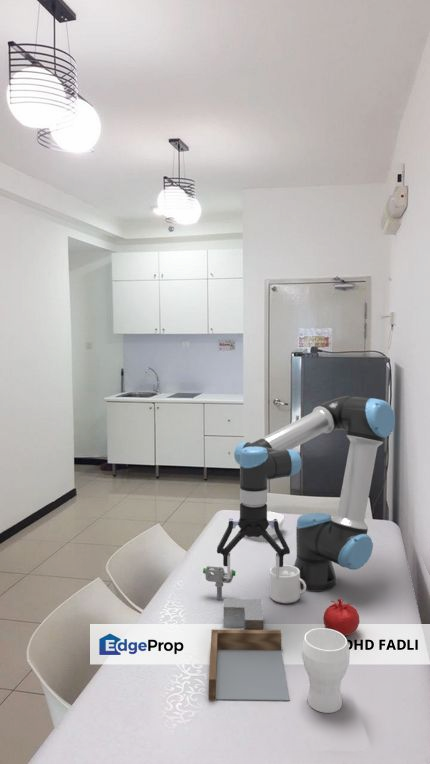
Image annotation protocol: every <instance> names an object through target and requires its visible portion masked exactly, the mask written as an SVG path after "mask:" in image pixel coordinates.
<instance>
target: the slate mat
mask: <svg viewBox="0 0 430 764" xmlns="http://www.w3.org/2000/svg"><path fill="white" fill-rule="evenodd" d="M282 651H283V650H282V649H281V650H217V678H216V700H215V701H237V702H238V701H242V702H243V701H246V702H247V701H250V702H251V701H252V702H263V701H264V702H291V701H290V694H289V687H288V682H287V676H286V669H285V662H284V658H283V652H282Z"/></svg>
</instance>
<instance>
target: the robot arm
mask: <svg viewBox="0 0 430 764" xmlns="http://www.w3.org/2000/svg"><path fill="white" fill-rule="evenodd" d="M395 416H396V415H395V412H394V409H393V407H392V406H391V405H390V403H389V402H387V401H386V400H383V399H379V398H374V397H373V398H372V397H361V396H353V395H344V396H340V397H337V398H334V399H333V398H332V399H331V400H328V401H326V402H324V403H321V404H320V405H318V406H316V407H314V408H313V409H312V412H310V413H309V414H307V415H304V416H302V417H301V418H299V419H296V420H295V421H293V422H291V423H289V424H286V425H284V426H283V427H281V428H280V429H279V428H278V429H277V430H276V431H273V432H271V433H269V434H267V435H265V436H263V437H262V438H260V439H258V440H255V441H254V442H250V441H243V442H240V443H239V444H237V446H236V447H235V449H234V452H233V453H234V454H233V456H234V460H235V462H236V463H237V464H238V465H239V487H240V488H239V502H240V504H239V519H238V520H236V519H233V518H228V524H227V528H226V530H225V532H224V533H223V535H222V537H221V539H220V541H219V543H218V545H217V546H216V553H217V554H221V555H222V557H223V560H222V561H223V562H222V564H223V567H226V568H227V572H226V573H227V577H226V578H227V579H230V571H231V551H232V550H233V549H234V548H235V547H236V546H237V545H238V544H239V543H240V541H241V540H242V539H244V538H245V535H246V536H248V537H253V536H254V537H259V536H261V535H262V536H263V537H264V538H265V539H266V540H267V541H268V542H267V543H268V544H269V545H270V546H271V548H272V549H273V550H274V551H275V566H276V580H279V567H283V565H284V558H285V557H284V556H285V555H290V554H291V551H290V547H289V546H288V544H287V541H286V539H285V537H284V535H283V533H282V531H280V529H279V525H278V521H277V519H274V520H273V521H268V520H267V511H268V504H267V502H268V481H271V480H274V479H282V478H287V477H288V478H290V477H291V476H295V475H297V474H298V473H299V472H300V471H301V469H302V457H301V455H300V454H299V452H298V451H296V450H295V449H296V448H297V447H299V446H301V445H302V444H304V443H306V442H308V441H310V440H312V439H314V438H317V437H318V436H319V435H322V434H329V433H331V432H333V431H338V430H340V431H347V432H346V438H347V439H348V440H349V447H348V453H347V459H346V463H345V464H346V466H345V469H344V475H343V480H342V487H341V491H340V497H339V501H338V508H337V512H336V515H335V516H333V517H332V516H331V514H329V513H325V512H312V513H305V514H302V515H299V517H298V518H297V521H296V531H295V533H296V558H295V561H294V565H293V566H295V567H297V568H298V569H299V570H300V579H302V580H303V581H304V582H305V584H306V591H312V592H313V591H315V592H322V591H327V590H328V591H329V590H331V589H333V588H334V587H335V586H336V585H337V574H336V571H335V568H334V565H333V563H334V564H336V565H339V566H340V567H342V568H347V569H348V570H358V569H360V568H362V567H363V566H364V565H365V564H367V562H368V561H369V560H370V558H371V555H372V553H373V547H374V546H373V545H374V543H373V541H372V537H370V536H369V534H368V531H369V526H368V525H367V524H366V522H365V518H366V512H367V507H368V501H369V496H370V490H371V486H372V479H373V474H374V469H375V463H376V456H377V453H378V451H377V450H378V447H379V446H381V445H382V444H384V441H385V438H386V437H389V436H390V435H391V434H392V432H394V429H395V425H396V417H395ZM237 526H238V528H239V530H238V532H237V534H236V535H234V537H233V538H232V539H231V540H230V541H229V543H228V542H227V541H228V540H229V538H230V536H231V534H232V532H233V529H236V527H237ZM268 526H271V528H272V529H275V532H276V534H277V536H278V537H277V539H278V540H279V542H280V544H281V546H282V548H281V547H280V545H279V544H278V543H277V542H276V541H275V539H274V540H273V538H272V537H271V536H270V535H269V534H268V532H267V531H266V529H267V527H268ZM226 543H228V544H227V545H226ZM300 589H302V590H303V589H304V586H303V584H302V582H300Z"/></svg>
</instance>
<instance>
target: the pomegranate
mask: <svg viewBox="0 0 430 764" xmlns="http://www.w3.org/2000/svg"><path fill="white" fill-rule="evenodd" d="M336 600H337V602H338V603H337V602H336V601H334V600H331V601H330V602H331V603H333V604H331V605H328V607H326V609H325V611H324V612H323V617H322V619H323V624H324V626H325V628H327V629H332V630H335V631H338V632H340V633H341V634H343V635H344V636H349V635H351V634H354V633H355V632H357V630H358V628H359V626H360V615H359V613H358V610H357V608H355V607H354V606H353V604H351V603H344V599H341V598H337V599H336Z"/></svg>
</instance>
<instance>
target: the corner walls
mask: <svg viewBox="0 0 430 764" xmlns="http://www.w3.org/2000/svg"><path fill="white" fill-rule="evenodd" d="M210 633H211V635H210V649H209V650H210V651H209V666H208V667H209V669H208V700H209V701H217V700H216V678H217V650H281V651H282V630H281V629H279V630H278V629H275V630H274V629H263V630H244V629H211V632H210Z"/></svg>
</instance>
